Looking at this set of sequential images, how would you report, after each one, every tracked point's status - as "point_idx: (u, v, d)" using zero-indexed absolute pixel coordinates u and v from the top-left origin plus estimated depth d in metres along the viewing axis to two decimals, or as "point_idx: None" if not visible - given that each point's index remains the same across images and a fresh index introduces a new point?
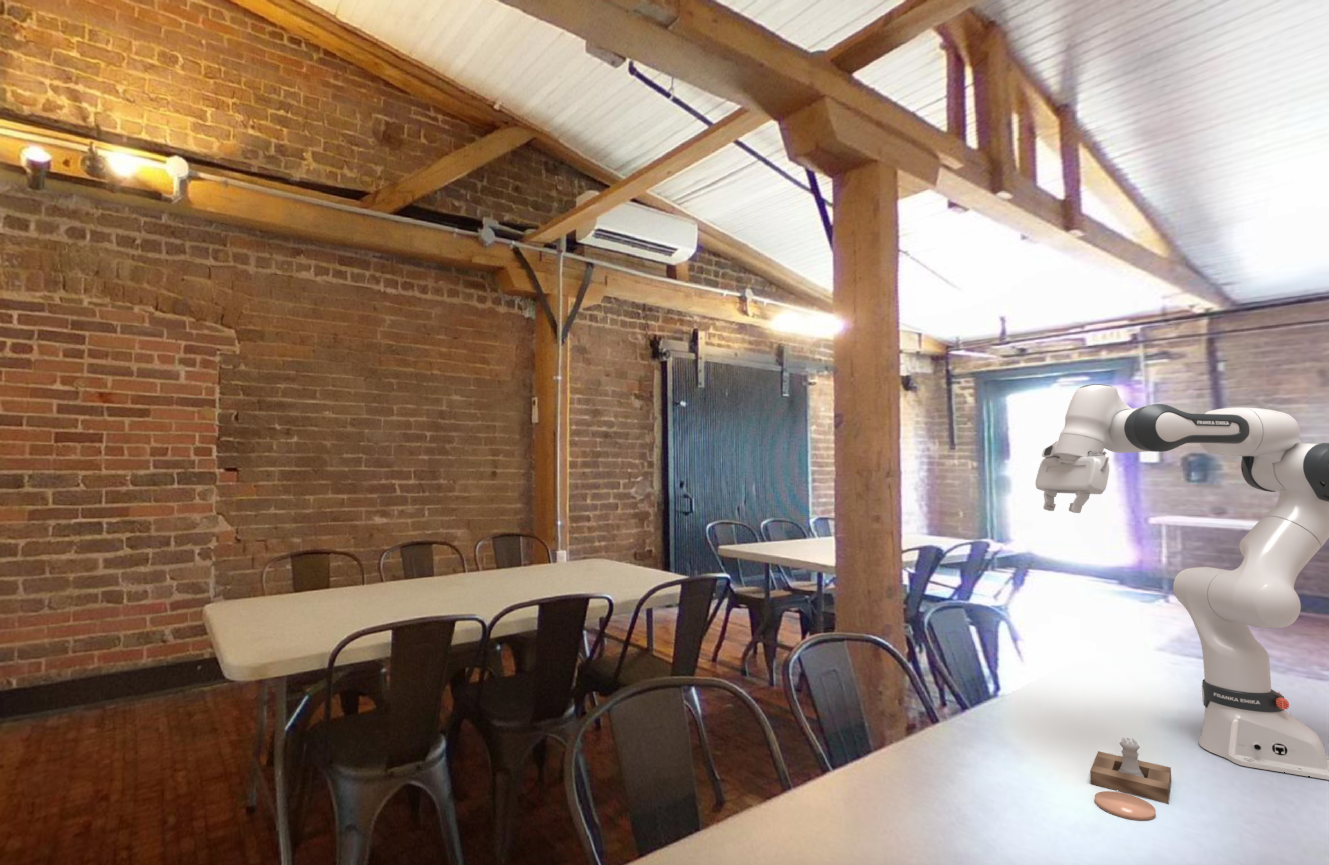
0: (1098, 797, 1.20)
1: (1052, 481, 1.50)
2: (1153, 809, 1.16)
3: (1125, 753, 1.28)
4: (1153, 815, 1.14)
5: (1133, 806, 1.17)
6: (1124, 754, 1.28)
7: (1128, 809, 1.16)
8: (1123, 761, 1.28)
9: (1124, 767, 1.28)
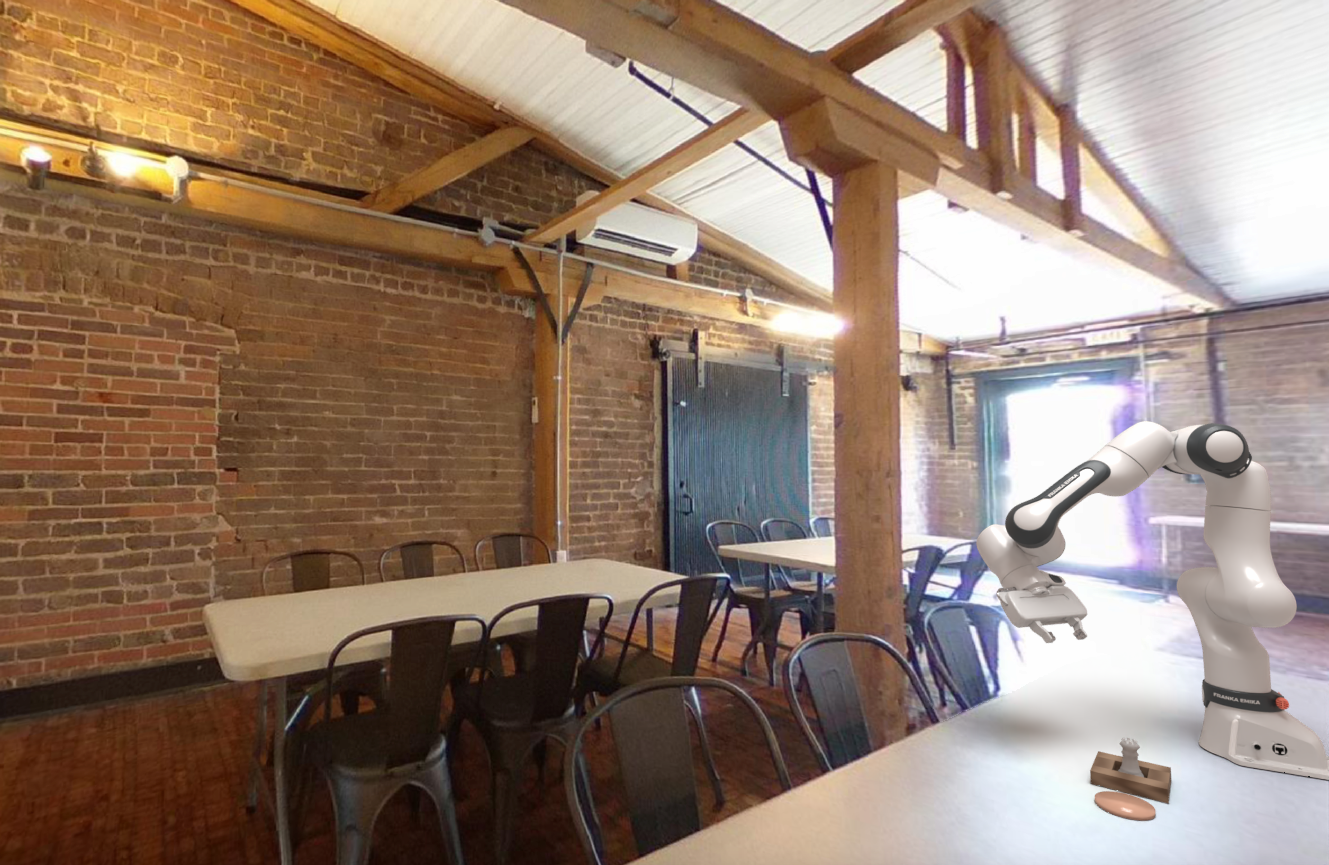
0: (1098, 797, 1.20)
1: None
2: (1153, 809, 1.16)
3: (1125, 753, 1.28)
4: (1153, 815, 1.14)
5: (1133, 806, 1.17)
6: (1124, 754, 1.28)
7: (1128, 809, 1.16)
8: (1123, 761, 1.28)
9: (1124, 767, 1.28)
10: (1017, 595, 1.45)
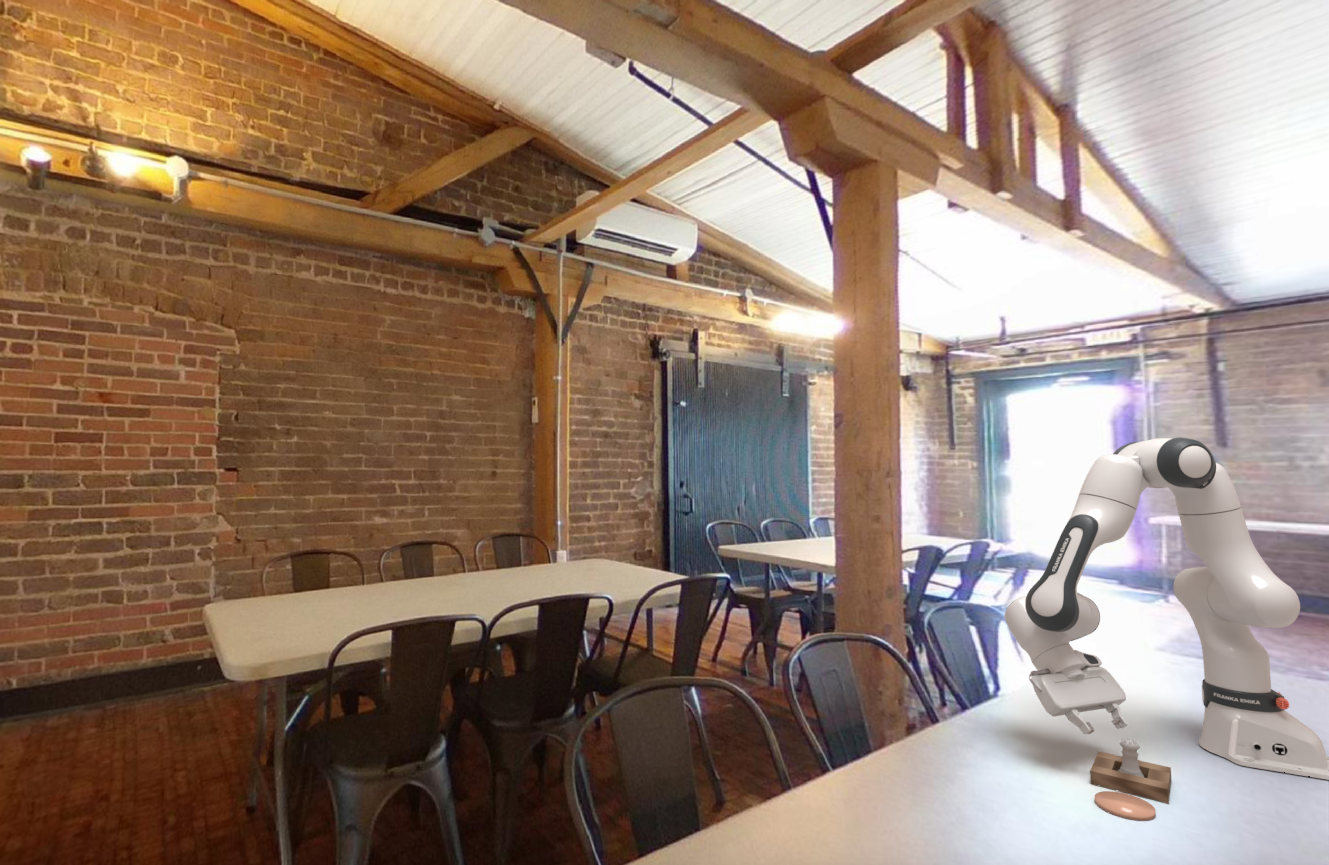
0: (1098, 797, 1.20)
1: None
2: (1153, 809, 1.16)
3: (1125, 753, 1.28)
4: (1153, 815, 1.14)
5: (1133, 806, 1.17)
6: (1124, 754, 1.28)
7: (1128, 809, 1.16)
8: (1123, 761, 1.28)
9: (1124, 767, 1.28)
10: (1051, 680, 1.37)
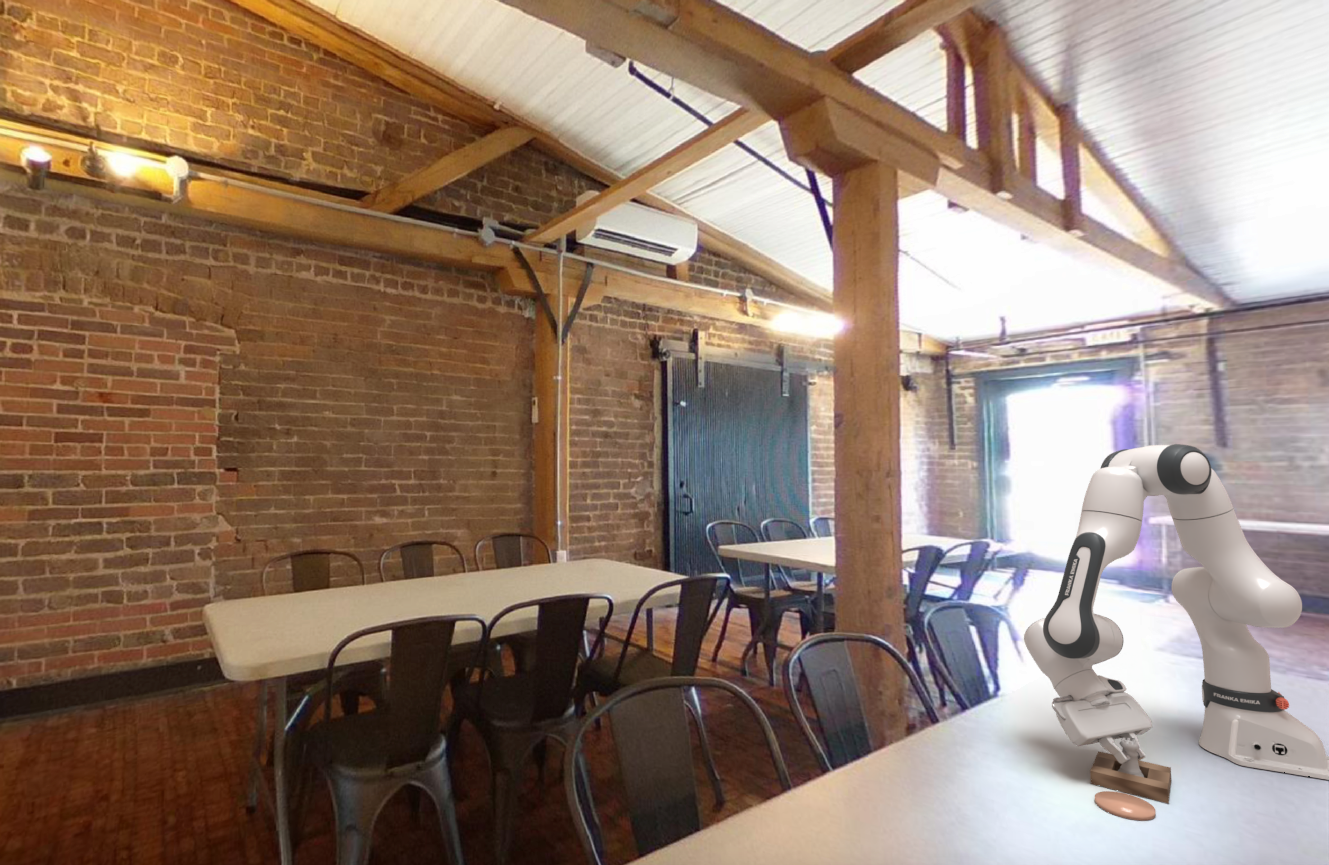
0: (1098, 797, 1.20)
1: None
2: (1153, 809, 1.16)
3: None
4: (1153, 815, 1.14)
5: (1133, 806, 1.17)
6: None
7: (1128, 809, 1.16)
8: None
9: (1124, 767, 1.28)
10: (1075, 707, 1.32)
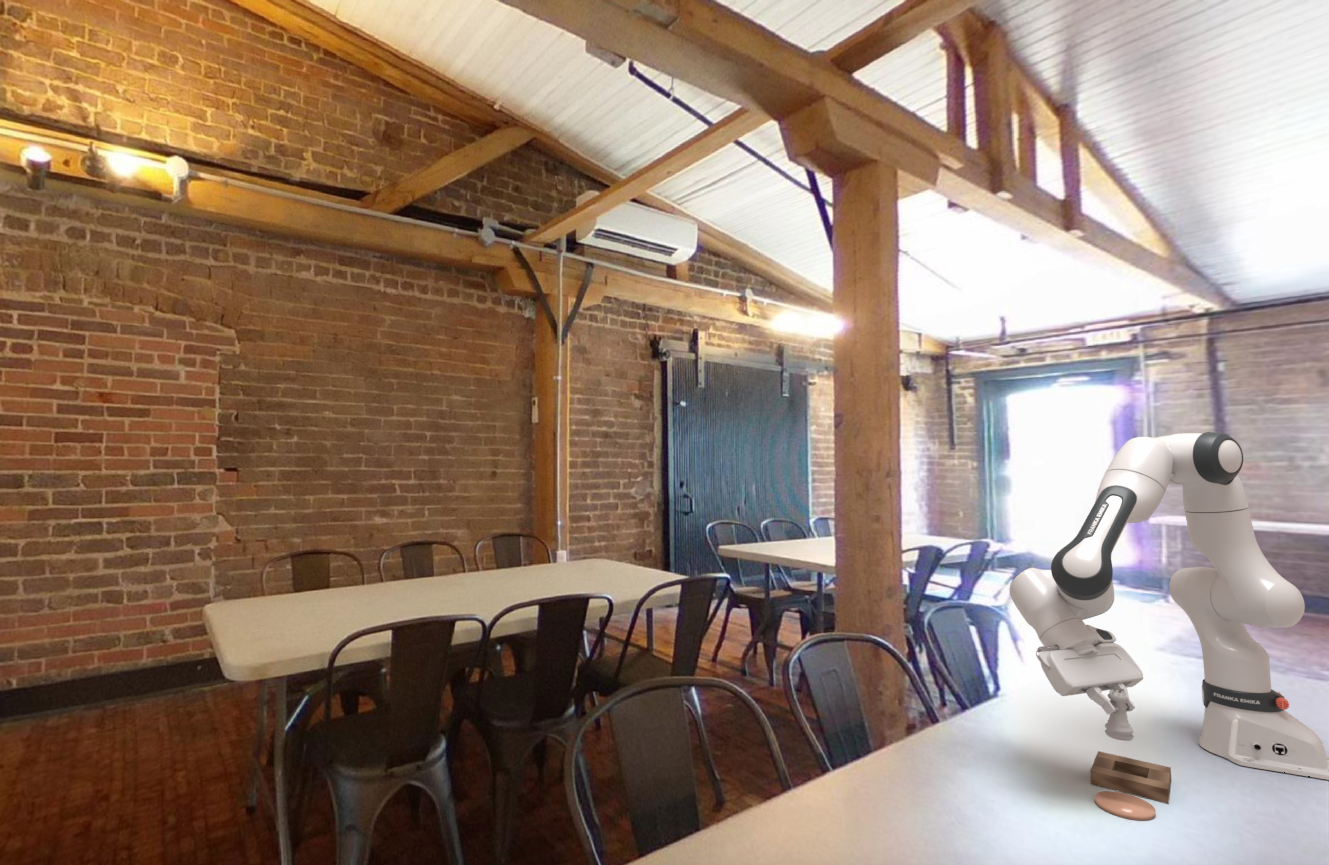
0: (1098, 797, 1.20)
1: None
2: (1153, 809, 1.16)
3: None
4: (1153, 815, 1.14)
5: (1133, 806, 1.17)
6: None
7: (1128, 809, 1.16)
8: (1111, 714, 1.20)
9: (1112, 720, 1.20)
10: (1061, 656, 1.23)
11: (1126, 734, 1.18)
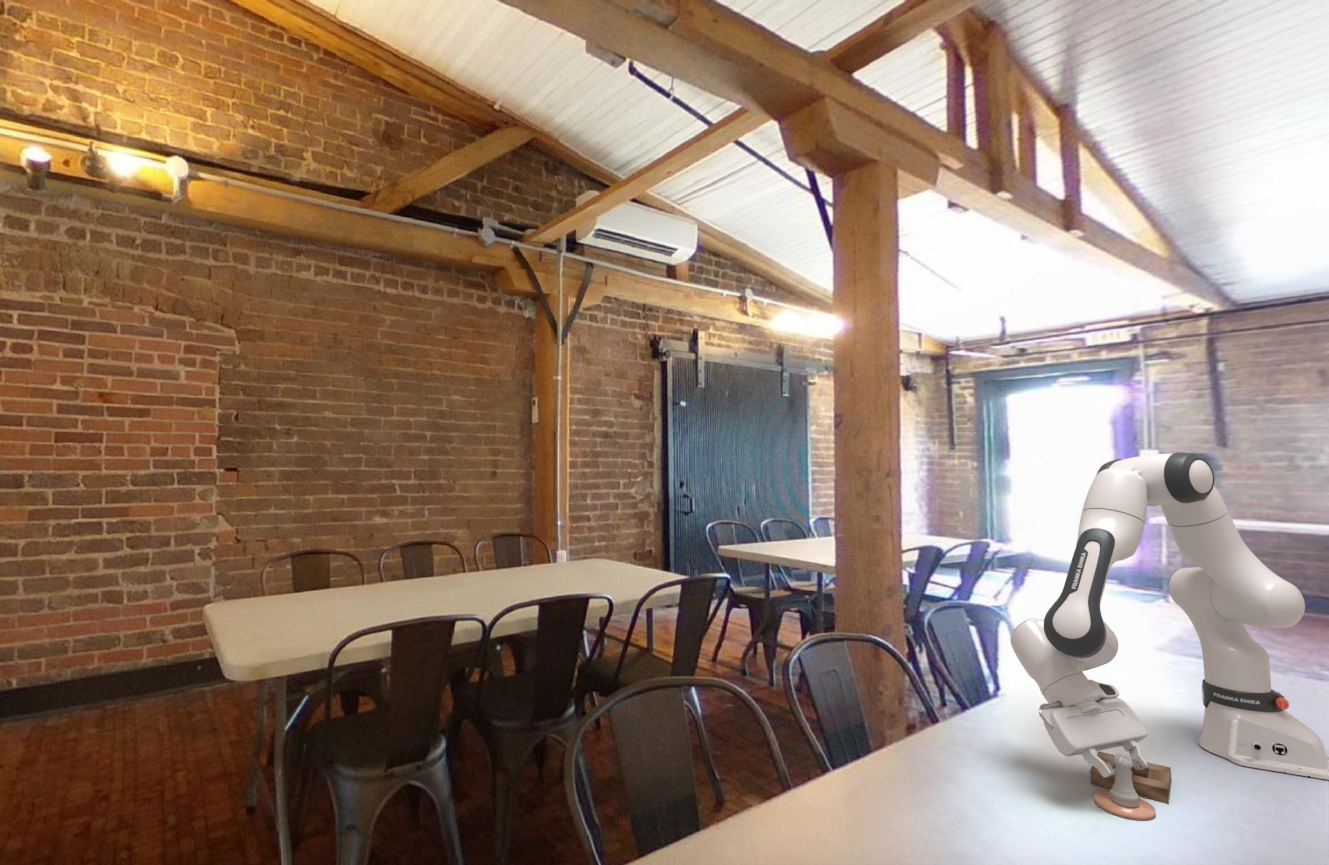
0: (1098, 797, 1.20)
1: None
2: (1153, 809, 1.16)
3: (1118, 771, 1.18)
4: (1153, 815, 1.14)
5: None
6: (1117, 772, 1.18)
7: (1128, 809, 1.16)
8: (1116, 780, 1.19)
9: (1117, 786, 1.18)
10: (1064, 714, 1.22)
11: (1132, 801, 1.16)
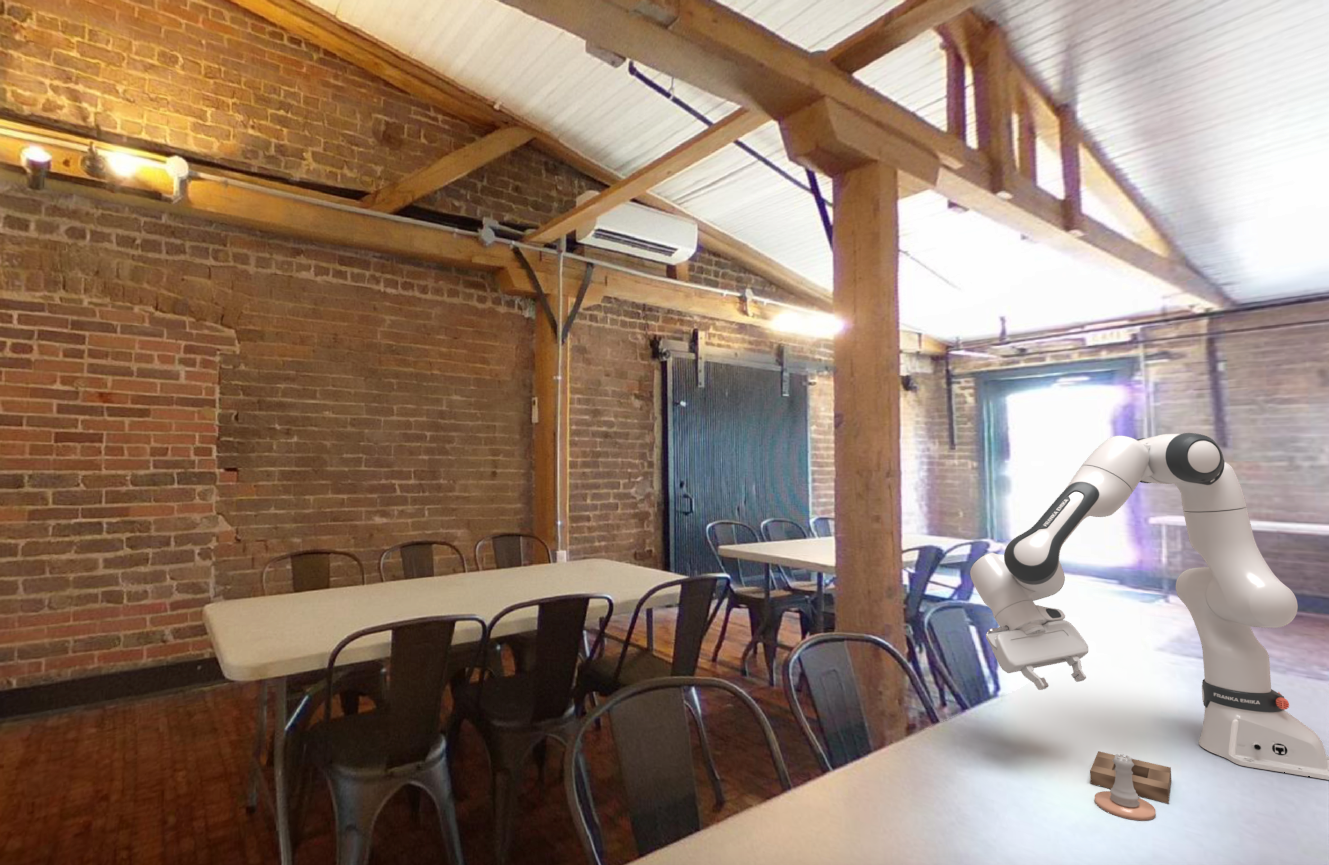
0: (1098, 797, 1.20)
1: None
2: (1153, 809, 1.16)
3: (1118, 771, 1.18)
4: (1153, 815, 1.14)
5: None
6: (1117, 772, 1.18)
7: (1128, 809, 1.16)
8: (1116, 780, 1.19)
9: (1117, 786, 1.18)
10: (1007, 637, 1.37)
11: (1132, 801, 1.16)
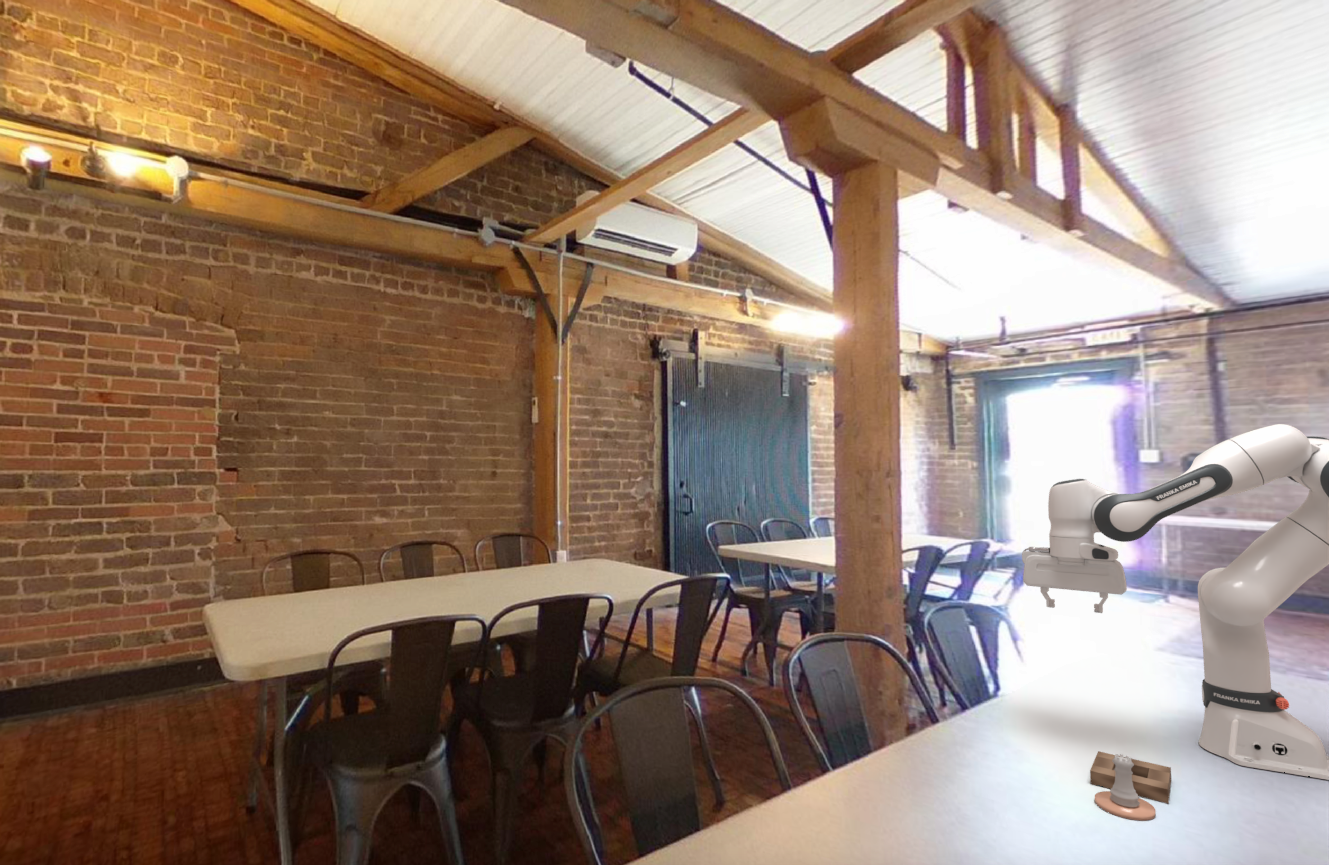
0: (1098, 797, 1.20)
1: None
2: (1153, 809, 1.16)
3: (1118, 771, 1.18)
4: (1153, 815, 1.14)
5: None
6: (1117, 772, 1.18)
7: (1128, 809, 1.16)
8: (1116, 780, 1.19)
9: (1117, 786, 1.18)
10: (1036, 561, 1.55)
11: (1132, 801, 1.16)
